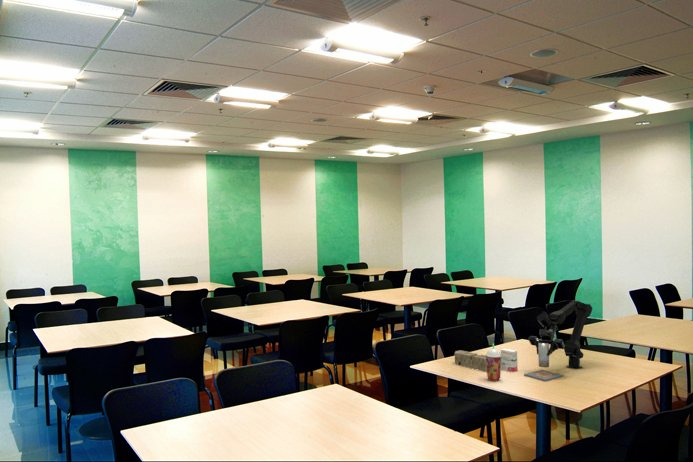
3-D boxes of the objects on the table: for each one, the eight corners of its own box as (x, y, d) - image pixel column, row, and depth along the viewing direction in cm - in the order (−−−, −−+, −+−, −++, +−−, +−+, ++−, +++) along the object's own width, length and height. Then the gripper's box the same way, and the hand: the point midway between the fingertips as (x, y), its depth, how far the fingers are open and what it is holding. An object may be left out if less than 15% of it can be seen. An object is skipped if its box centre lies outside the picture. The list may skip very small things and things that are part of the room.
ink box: (518, 370, 307) (517, 350, 307) (513, 372, 304) (512, 351, 304) (505, 367, 313) (505, 348, 314) (500, 369, 310) (500, 349, 310)
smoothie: (502, 378, 291) (502, 342, 291) (500, 382, 283) (499, 345, 283) (487, 377, 294) (486, 341, 294) (484, 381, 287) (484, 344, 287)
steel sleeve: (542, 364, 298) (542, 341, 298) (551, 366, 294) (550, 343, 293) (536, 366, 295) (536, 342, 295) (544, 368, 291) (544, 344, 291)
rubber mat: (542, 371, 305) (542, 369, 305) (563, 376, 293) (563, 374, 293) (524, 375, 296) (523, 373, 296) (545, 381, 284) (545, 379, 284)
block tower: (452, 365, 325) (492, 373, 302) (452, 352, 325) (492, 358, 302) (461, 363, 330) (500, 371, 307) (460, 350, 330) (500, 356, 307)
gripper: (529, 321, 303) (522, 344, 295) (562, 325, 291) (556, 348, 283) (534, 333, 309) (527, 355, 301) (567, 337, 297) (561, 360, 289)
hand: (542, 354), depth 293 cm, fingers closed on steel sleeve, 5 cm apart
